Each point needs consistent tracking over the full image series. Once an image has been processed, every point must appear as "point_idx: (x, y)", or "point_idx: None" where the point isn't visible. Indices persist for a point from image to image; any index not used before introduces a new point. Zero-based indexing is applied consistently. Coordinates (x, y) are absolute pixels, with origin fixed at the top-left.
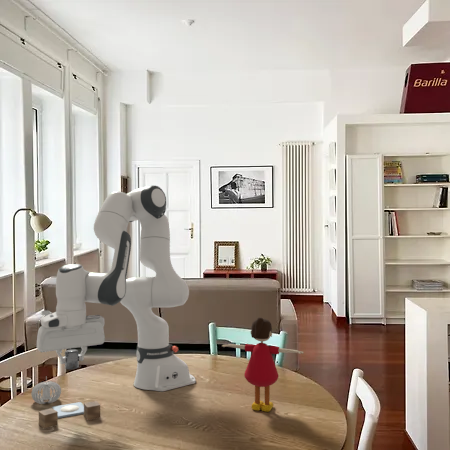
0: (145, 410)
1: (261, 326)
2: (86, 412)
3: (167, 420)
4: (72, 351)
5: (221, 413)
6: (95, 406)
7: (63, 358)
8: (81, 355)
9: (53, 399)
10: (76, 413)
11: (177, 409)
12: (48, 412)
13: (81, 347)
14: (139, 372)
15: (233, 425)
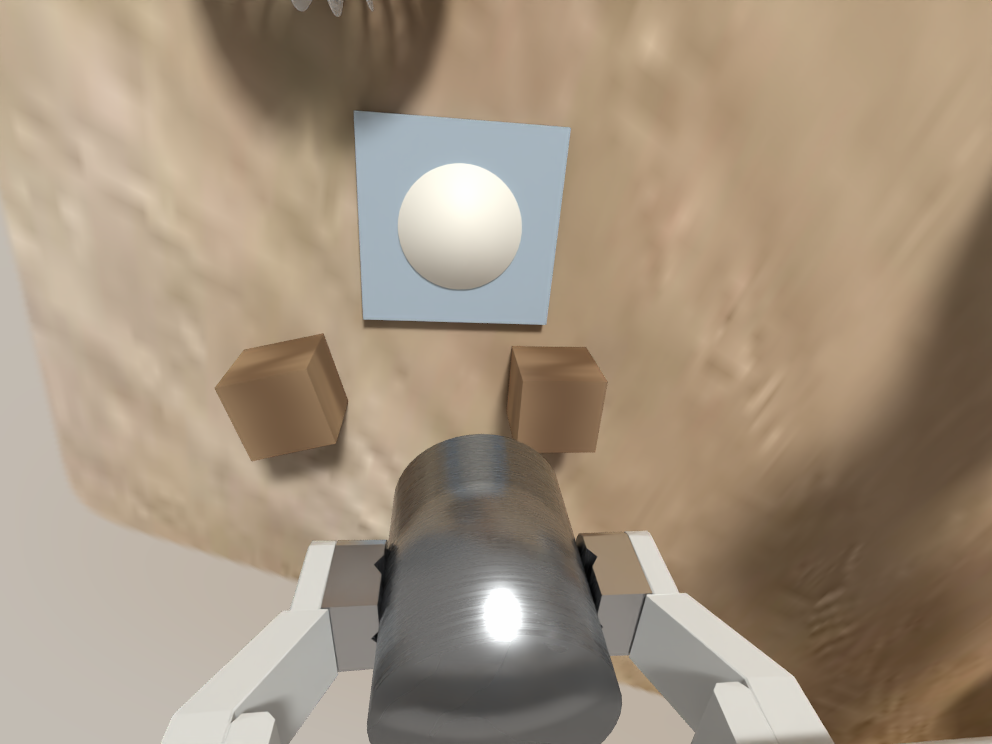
0: (799, 425)
1: None
2: (512, 416)
3: (788, 552)
4: (507, 732)
5: (977, 573)
6: (564, 451)
7: (343, 665)
8: (630, 650)
9: (372, 4)
10: (477, 322)
11: (906, 476)
12: (279, 430)
13: (714, 736)
14: None
15: (909, 655)
